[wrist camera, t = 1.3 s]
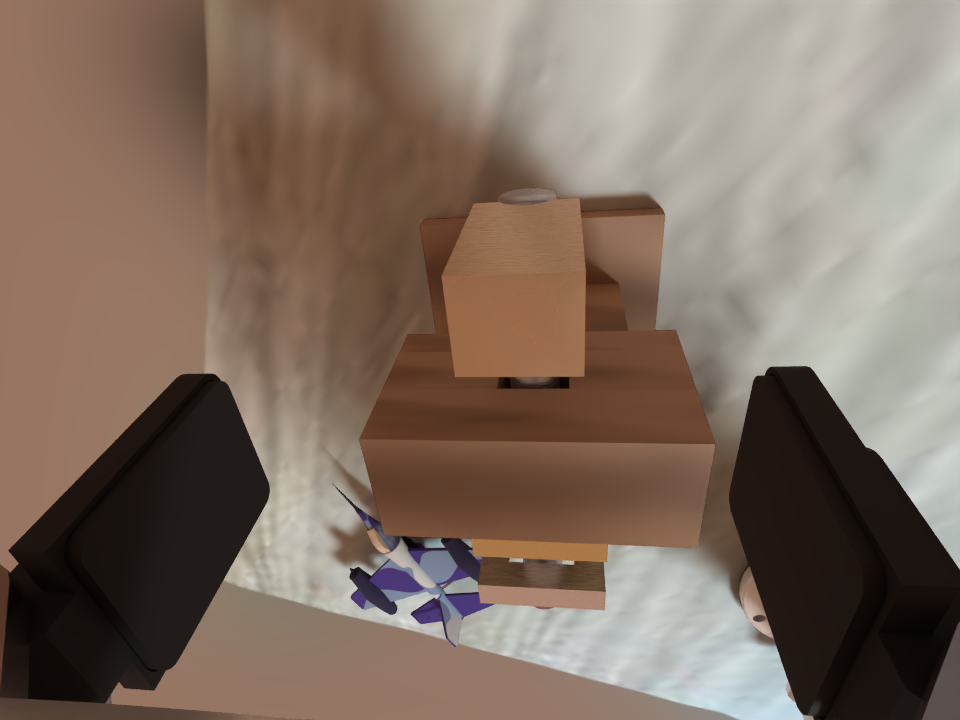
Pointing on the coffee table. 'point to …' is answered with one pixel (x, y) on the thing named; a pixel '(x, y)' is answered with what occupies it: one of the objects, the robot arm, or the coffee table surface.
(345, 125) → the coffee table surface
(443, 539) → the toy airplane
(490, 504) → the bearing block
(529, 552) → the bar
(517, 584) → the square wooden ring
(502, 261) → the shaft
